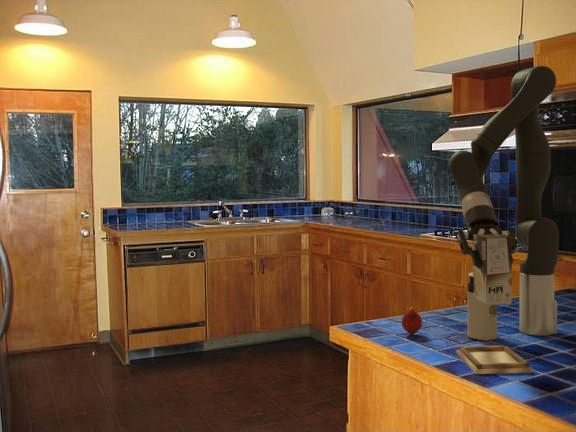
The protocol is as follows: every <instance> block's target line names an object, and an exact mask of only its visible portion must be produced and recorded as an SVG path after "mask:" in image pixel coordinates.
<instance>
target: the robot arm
mask: <svg viewBox="0 0 576 432" xmlns="http://www.w3.org/2000/svg"><path fill="white" fill-rule="evenodd" d="M556 85H557V77H556V74H555V72H554V70H552V69H551V68H550V67H548V66H547V65H546V66H545V65H537V66H533V67H529V68H525V69H522V70H520V71H518V72H517V73H515V74H514V76H513V77H512V79H511V84H510V93H511V101H509V103H507V104H506V105H505V106H504V107H503V108H501V109H500V110H499V111H498V112H497V113H496V114H494V115H493V116H492V117H491V118H489V119H488V121H487V122H486V123H484V125H483V126H482V127H481V128H480V130H479V131H478V132H477V134H475V136H474V137H473V138H472V140H471V142H470V148H471V152H470V151H468V150H463V149H461V150H458V151H456V152H454V153H453V155H451V157H450V159H449V163H448V164H449V166H448V167H449V169H450V174H451V176H452V178H453V180H454V183H455V185H456V188H457V191H458V196H459V199H460V203H461V209H462V216H463V217H464V222H465V225H466V228H467V231H464V230H462V229H459V230H458V232H457V235H456V240H457V243H458V245H459V248H460V250H461V254H462V255H469V256H470V258H471V261H472V264H473V265H474V266H476V268H480V267H481V259H480V256H479V252H478V251H477V245H476V240H475V242H474V245H473V244H472V246H470V245H469V243H468V239H470V240H471V241H472V242H473V234H501V235H505V236H509V237H512V255H513V254H515V252H516V250H517V248H518V243H519V245H521V247H523V248H527V255H526V259H525V260H523V261H522V262H520V264H519V324H518V325H519V332H520V333H522V334H526V335H530V336H538V337H539V336H540V337H541V336H552V335H553V334H554V335H556V334H558V330H557V329H558V301H557V300H556V299H555V270H556V266H557V263H558V260H559V247H560V246H559V242H560V233H559V228H558V225H557V224H556V222H555V221H554V220H552V219H550V218H547V217H542V197H543V192H544V191H545V187H546V185H547V182H548V180H549V178H550V173H551V169H552V165H551V164H552V162H551V161H552V160H551V155H552V154H551V145H550V142H549V140H548V138H547V135H546V134H545V131H544V128H542V126H541V123H540V122H541V121H540V119H539V109H538V106H539V105H540V104H542V103H543V102H544V101H545V100H546V99H547V98H548V97H550V95H551V94H552V93H553V92H554V90H555V88H556ZM513 131H514V134H515V135H514V136H515V137H514V138H515V169H516V170H515V171H516V172H515V173H516V210H515V211H516V212H515V220H514V221H515V223H514V229H513V228H509V229H508V230H502V229H501V228H500V226H499V222H498V219H497V215H496V212H495V209H494V207H493V203H492V201H491V198H490V196H489V193H488V192H487V188H486V185H485V183H484V181H483V179H482V178H483V177H484V175H485V174H486V172H487V170H488V168H489V165H490V163H491V162H492V158H493V156H494V154H495V153H496V152H497V151H498V149H500V147H501V146H502V144H504V142H505V141H506V140H507V138H508V137H509V136H510V135H511V134H512V133H513ZM517 242H518V243H517ZM513 262H514V258H513V257H512V264H513ZM474 266H473V267H474Z"/></svg>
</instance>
